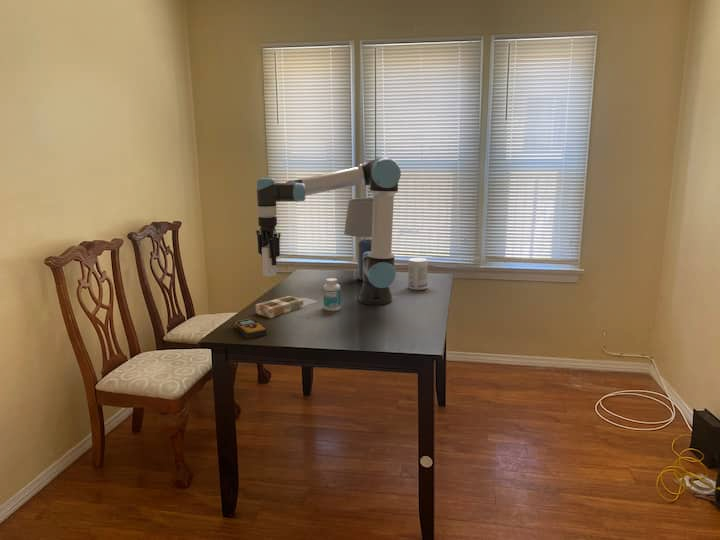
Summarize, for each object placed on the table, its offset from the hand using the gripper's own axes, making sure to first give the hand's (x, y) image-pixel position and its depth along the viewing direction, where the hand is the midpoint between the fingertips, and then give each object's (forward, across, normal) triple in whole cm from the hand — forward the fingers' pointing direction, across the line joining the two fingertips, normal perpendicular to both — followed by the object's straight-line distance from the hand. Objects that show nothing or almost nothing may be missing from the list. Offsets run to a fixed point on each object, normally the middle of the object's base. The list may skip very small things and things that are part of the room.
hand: (269, 271), depth 218 cm
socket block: (+18, 0, -5) cm, 19 cm away
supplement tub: (+18, -21, -76) cm, 81 cm away
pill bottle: (+18, -15, -22) cm, 32 cm away
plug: (+2, 0, 0) cm, 2 cm away
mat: (+18, +2, -20) cm, 27 cm away
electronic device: (+19, -12, +19) cm, 30 cm away
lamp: (+18, +9, -72) cm, 74 cm away
